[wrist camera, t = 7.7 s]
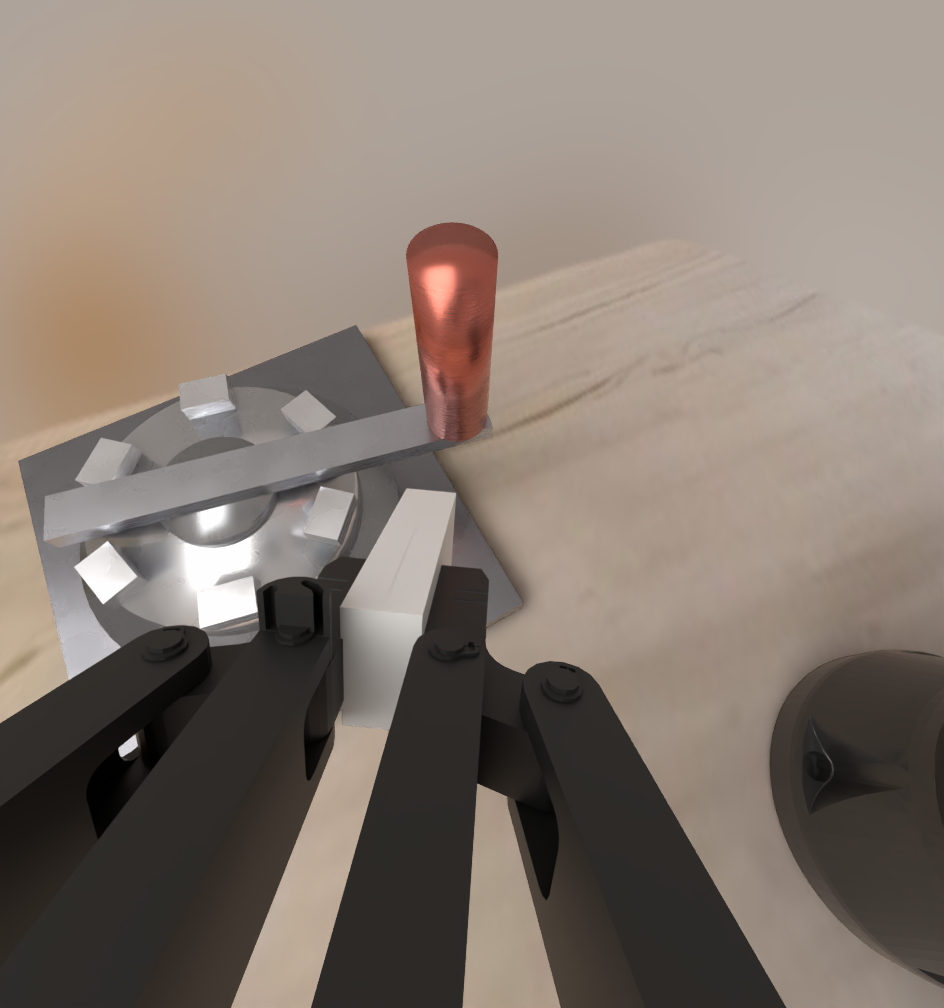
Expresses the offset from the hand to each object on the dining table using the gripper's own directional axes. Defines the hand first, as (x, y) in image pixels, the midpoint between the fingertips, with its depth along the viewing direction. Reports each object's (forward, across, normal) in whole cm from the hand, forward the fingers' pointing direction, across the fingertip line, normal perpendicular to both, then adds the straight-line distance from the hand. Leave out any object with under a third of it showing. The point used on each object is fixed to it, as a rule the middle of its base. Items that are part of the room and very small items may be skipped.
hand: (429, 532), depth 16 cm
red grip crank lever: (+13, -9, -5) cm, 17 cm away
